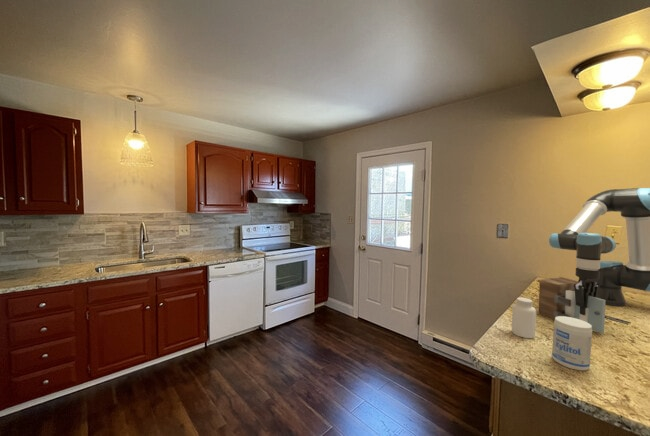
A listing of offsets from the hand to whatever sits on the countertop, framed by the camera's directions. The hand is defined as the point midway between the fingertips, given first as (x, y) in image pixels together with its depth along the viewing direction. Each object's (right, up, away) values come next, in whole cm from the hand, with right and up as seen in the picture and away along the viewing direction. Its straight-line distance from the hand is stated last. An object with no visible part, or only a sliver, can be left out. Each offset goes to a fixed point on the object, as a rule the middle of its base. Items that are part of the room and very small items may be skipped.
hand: (585, 321), depth 116 cm
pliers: (+23, -3, +15) cm, 28 cm away
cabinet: (+2, -3, +12) cm, 13 cm away
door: (0, -2, +1) cm, 3 cm away
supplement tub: (-30, -5, -25) cm, 40 cm away
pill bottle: (-31, -4, -5) cm, 31 cm away
